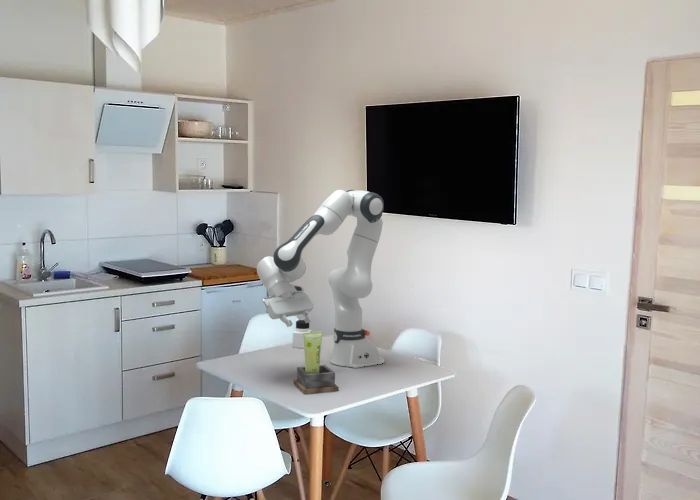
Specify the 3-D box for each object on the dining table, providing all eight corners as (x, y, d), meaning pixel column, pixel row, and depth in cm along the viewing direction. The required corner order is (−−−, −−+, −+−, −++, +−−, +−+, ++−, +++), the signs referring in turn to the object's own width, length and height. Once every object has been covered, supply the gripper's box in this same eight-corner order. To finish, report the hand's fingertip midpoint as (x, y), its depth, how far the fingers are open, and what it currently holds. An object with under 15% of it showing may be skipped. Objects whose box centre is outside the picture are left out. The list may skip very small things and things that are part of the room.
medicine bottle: (307, 349, 304) (308, 322, 303) (292, 347, 305) (292, 321, 304) (311, 345, 311) (312, 319, 309) (296, 344, 312) (297, 318, 311)
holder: (325, 380, 258) (326, 363, 257) (338, 390, 246) (338, 373, 245) (293, 383, 253) (293, 366, 252) (304, 394, 241) (304, 376, 240)
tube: (314, 387, 244) (315, 334, 242) (301, 385, 246) (303, 332, 244) (321, 383, 250) (322, 331, 247) (308, 380, 252) (310, 329, 249)
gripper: (265, 292, 249) (282, 323, 244) (305, 286, 264) (322, 315, 259) (257, 302, 253) (274, 333, 247) (297, 296, 268) (314, 324, 262)
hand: (299, 323), depth 253 cm, fingers open, 8 cm apart
